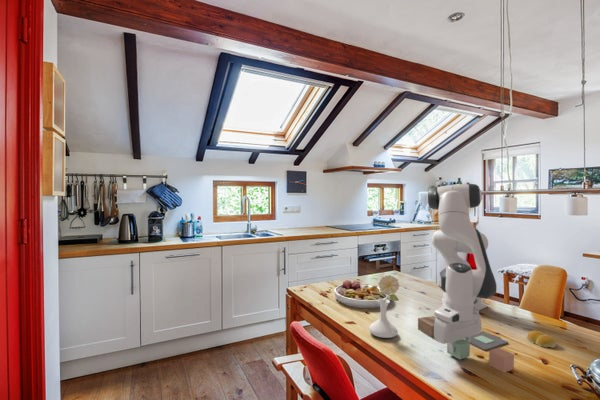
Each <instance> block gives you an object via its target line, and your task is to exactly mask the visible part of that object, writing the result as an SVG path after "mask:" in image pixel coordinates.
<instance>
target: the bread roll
mask: <svg viewBox="0 0 600 400" xmlns="http://www.w3.org/2000/svg"><path fill="white" fill-rule="evenodd" d="M526 339H527V341H529V342H530V341H531V342H530V343H532V342H533V343H532V344H534V343H535V344H536V345H537V344H538V345H537V346H539V345H540V346H539V347H541V346H543V347H542V348H547V347H551V348H550V349H553V348H556V347H557V340H556V339H555V338H554V337H553V336H551V335H548V334H545V333H543V332H541V331H539V330H531V331H529V332H528V333H527V334H526Z"/></svg>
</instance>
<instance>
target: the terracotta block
mask: <svg viewBox="0 0 600 400" xmlns="http://www.w3.org/2000/svg"><path fill="white" fill-rule="evenodd" d="M488 355H489V356H488V366H490V367H492V368H494V369H496V370H498V371H500V372H501V373H504V374H505V373H507V371H508V372H510V370H511V371H513V370H514V369H515V367H514V366H515V354H514V353H512V352H509V351H507V350H506V349H502V348H501V347H500V346H499V347H496V348H493V349H490V350H488ZM512 369H513V370H512Z"/></svg>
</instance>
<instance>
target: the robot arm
mask: <svg viewBox="0 0 600 400" xmlns="http://www.w3.org/2000/svg"><path fill="white" fill-rule="evenodd" d="M425 200H426V203H427V205H428V207H429V208H431V209H432V210H437V211H438V213H437V215H438V216H437V218H438V221H437V222H438V227H439V230H435V231H434V232H433V234H432V236H431V243H432V246H433V247H434V248H435V249H436V250H437V251H438V252H439V253H440V255H442V257H443V259H444V263H445V268H444V269H442V270H440V272H439V276H440V280H439V288H440V290H442V291H443V292H442V293H443V295H442V298H441V300H440V301H441V304H442V305H441V306H440V307H438V308H437V309H436V310H435V311H434V317H436V319H435V323H434V337H433V338H434V339H435V340H436V341H437V342H439V343H440V344H444V345H445V344H446V346H447V345H448V350H449V352H451V353H453V352H456V347H454V346H453V343H454V341H456V340H459V339H462V338H463V339H465V340H467V341H470V339H471V336H472V335H476V334H479V333H480V332H482V328H483V327H482V318H481V315H480V311H482V310H484V309H485V308H488V305H487V304H486V303H485V302H483V299H484V300H487V299H490V298H492V297H493V296H494V295H495V294H496V293H497V281H496V278H495V276H494V274H493V271H492V267H491V264H490V260H489V258H488V254H487V249H488V247H489V239H488V238H487V236H486V235H485V234H484V233H482V232H480V231H479V230H478V229H477V228H476V227H474V226H473V224H472V222H471V218H470V213H469V211H470V210H469V208H470V209H473V208H477V207H478V206H480V205H481V202H482V200H483V192H482V190H481V188H480V186H479V185H478V184H475V183H468V184H467V183H466V184H465V183H464V184H463V183H458V184H457V183H456V184H448V185H447V184H446V185H441V186H434V187H433V186H432V187H431V188H429V189H428V190H427V194H426V199H425ZM458 253H463V254H464V253H465V254H472V255H473V258H474V263H475V266H476V269H472V267H471V265H470V263H469V261H467V260H465V259H463V258H461V257H460V256H459V254H458Z"/></svg>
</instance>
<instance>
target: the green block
mask: <svg viewBox="0 0 600 400" xmlns="http://www.w3.org/2000/svg"><path fill="white" fill-rule="evenodd" d="M470 345H471V344H470V342H469V341H467V340H465V339H459V340H456V341H454V343H453V346H454V347H456V352H453V353H451V352H449V350H448V345H447V344H446V352H447V354H449V355H451V356H453V358H456V359H458V360H462V359H466V358H469V357H470V356H471V355H470V353H471V347H470Z"/></svg>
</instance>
